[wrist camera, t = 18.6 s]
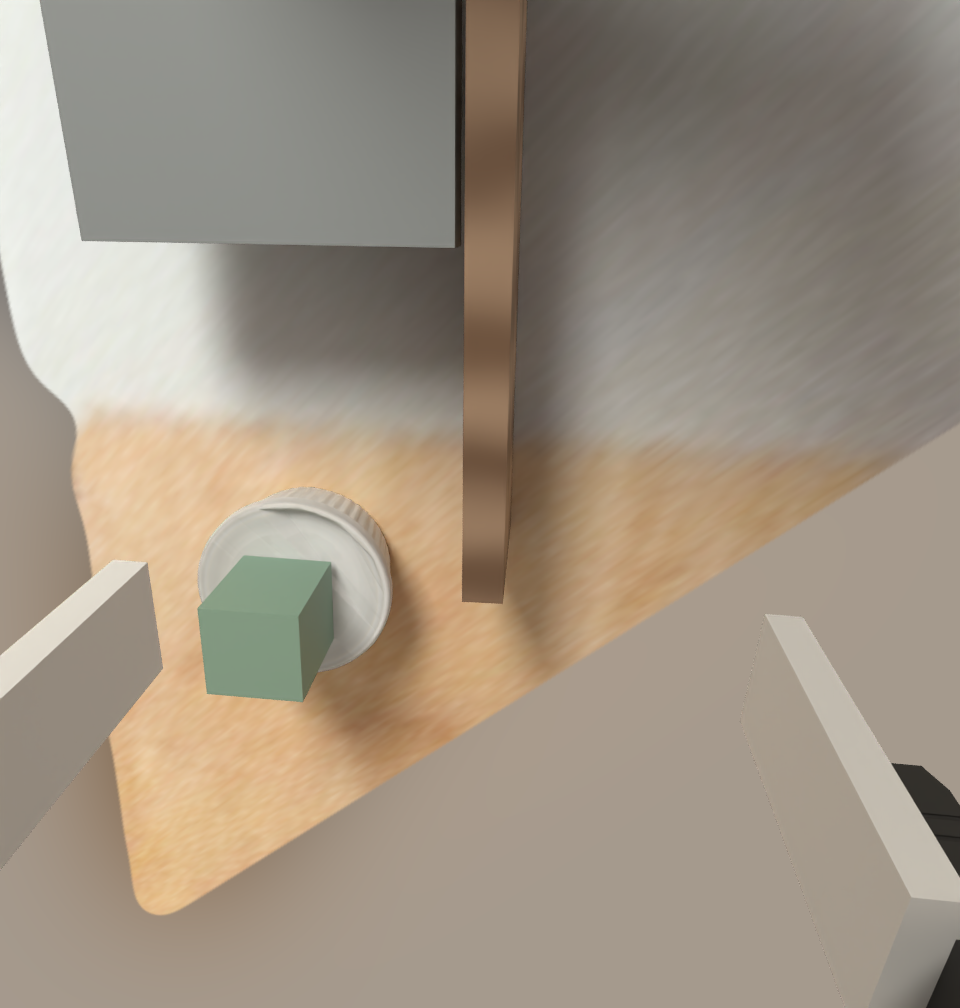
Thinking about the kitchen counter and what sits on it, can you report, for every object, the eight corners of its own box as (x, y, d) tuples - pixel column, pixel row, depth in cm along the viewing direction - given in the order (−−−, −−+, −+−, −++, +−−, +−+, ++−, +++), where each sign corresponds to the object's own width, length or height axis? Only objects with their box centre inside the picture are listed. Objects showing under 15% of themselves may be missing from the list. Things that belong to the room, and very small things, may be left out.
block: (243, 555, 41) (197, 608, 36) (331, 561, 41) (298, 616, 36) (250, 632, 43) (207, 693, 38) (333, 638, 43) (303, 701, 37)
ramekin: (428, 508, 45) (414, 543, 40) (376, 651, 49) (358, 700, 44) (254, 444, 45) (218, 473, 40) (216, 595, 49) (180, 638, 44)
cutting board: (485, -17, 35) (466, -95, 26) (527, -18, 35) (523, -96, 26) (477, 525, 45) (462, 601, 36) (510, 527, 45) (502, 603, 36)
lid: (62, -82, 29) (20, -107, 27) (462, -86, 28) (455, -113, 26) (113, 238, 34) (81, 240, 31) (461, 245, 33) (454, 247, 30)
